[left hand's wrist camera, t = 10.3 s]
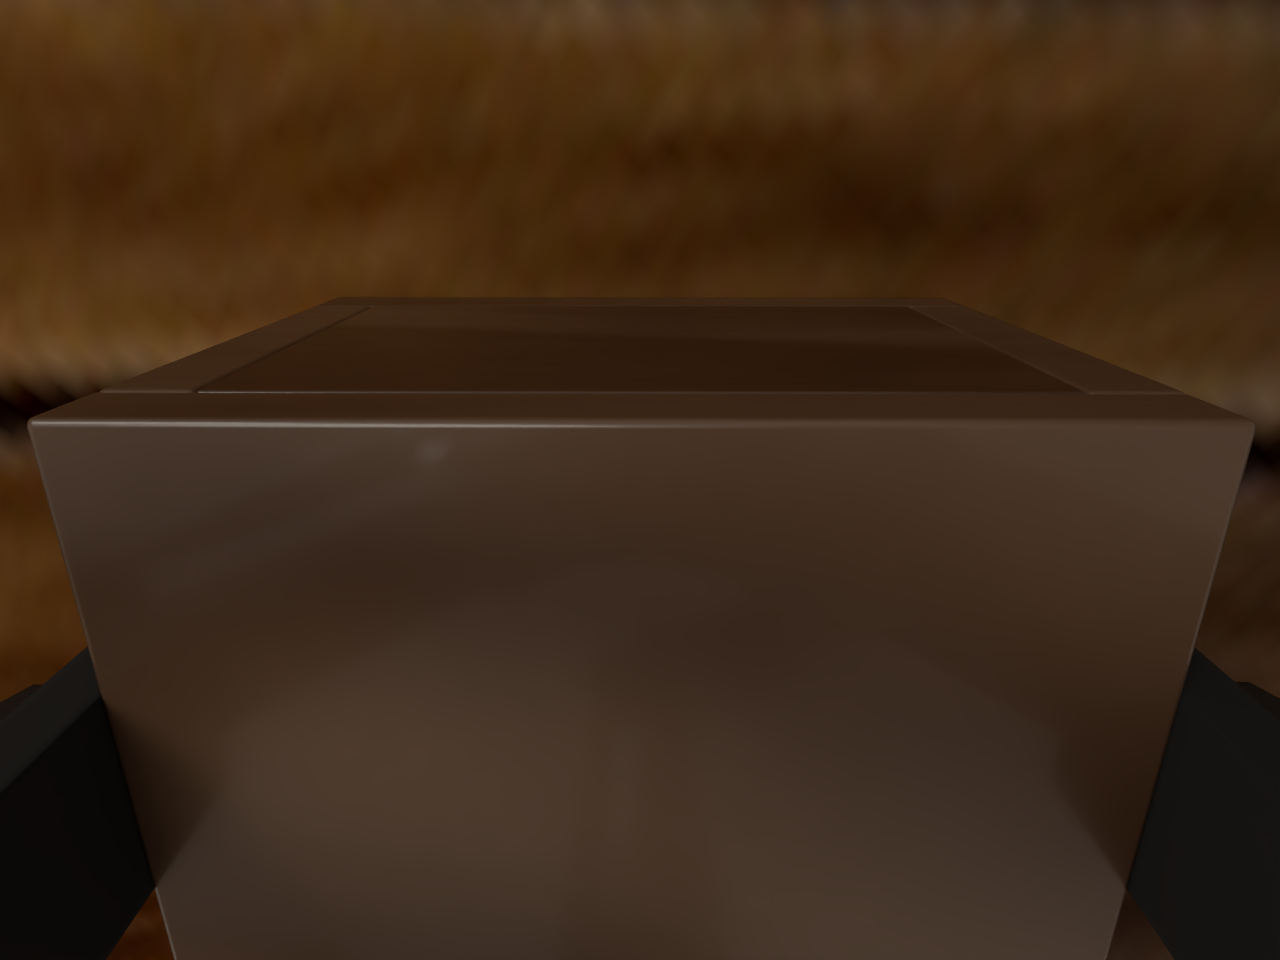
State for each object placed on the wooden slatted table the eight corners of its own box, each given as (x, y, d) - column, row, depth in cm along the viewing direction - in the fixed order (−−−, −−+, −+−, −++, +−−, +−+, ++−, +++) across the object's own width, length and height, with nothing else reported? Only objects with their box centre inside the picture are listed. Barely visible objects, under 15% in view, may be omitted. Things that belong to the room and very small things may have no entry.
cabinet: (849, 1031, 22) (960, 1487, 14) (429, 1030, 22) (317, 1484, 14) (947, 297, 15) (1264, 420, 7) (335, 296, 15) (19, 418, 7)
